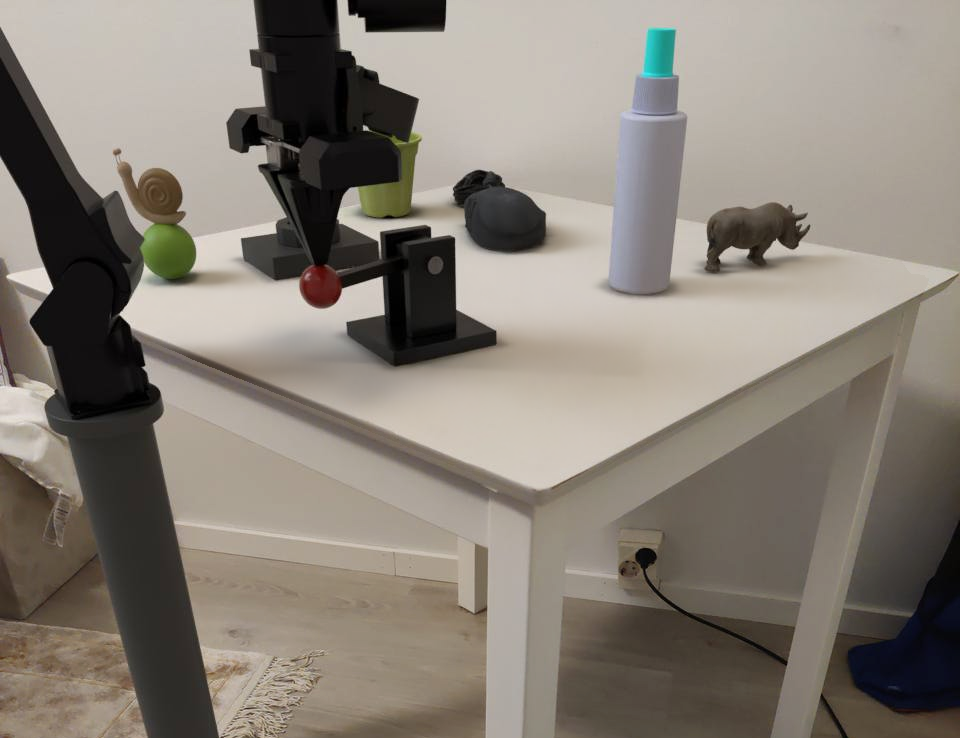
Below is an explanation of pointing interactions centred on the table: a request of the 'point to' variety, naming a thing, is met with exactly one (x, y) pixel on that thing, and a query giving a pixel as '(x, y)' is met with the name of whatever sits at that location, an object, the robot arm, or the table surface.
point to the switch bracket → (420, 304)
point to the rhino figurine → (752, 231)
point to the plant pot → (393, 185)
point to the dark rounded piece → (499, 213)
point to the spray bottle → (648, 174)
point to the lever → (345, 278)
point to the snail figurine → (160, 220)
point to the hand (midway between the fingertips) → (319, 264)
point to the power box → (289, 258)
